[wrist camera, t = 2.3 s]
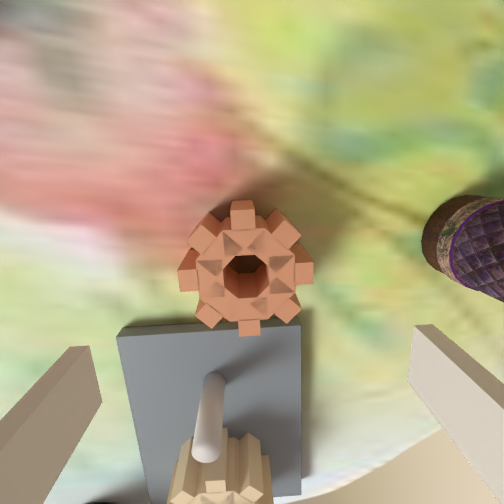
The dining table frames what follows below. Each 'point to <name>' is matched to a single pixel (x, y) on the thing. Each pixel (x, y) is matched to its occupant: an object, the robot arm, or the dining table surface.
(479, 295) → the dining table surface
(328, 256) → the dining table surface
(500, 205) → the mug
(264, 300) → the gear
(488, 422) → the robot arm
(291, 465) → the gear board
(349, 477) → the dining table surface
